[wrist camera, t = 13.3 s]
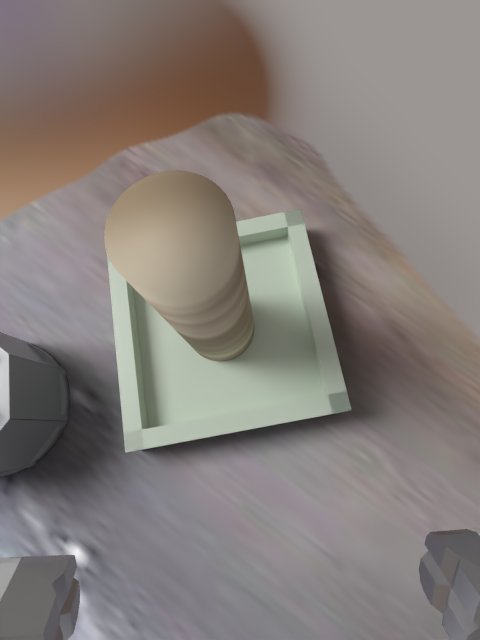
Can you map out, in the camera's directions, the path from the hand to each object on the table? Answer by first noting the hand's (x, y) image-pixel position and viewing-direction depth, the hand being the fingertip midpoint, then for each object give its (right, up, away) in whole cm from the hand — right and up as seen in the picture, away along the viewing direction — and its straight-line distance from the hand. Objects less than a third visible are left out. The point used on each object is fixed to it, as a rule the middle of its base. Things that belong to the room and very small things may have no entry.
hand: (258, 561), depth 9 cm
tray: (-1, +5, +15) cm, 16 cm away
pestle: (-2, +5, +14) cm, 15 cm away
